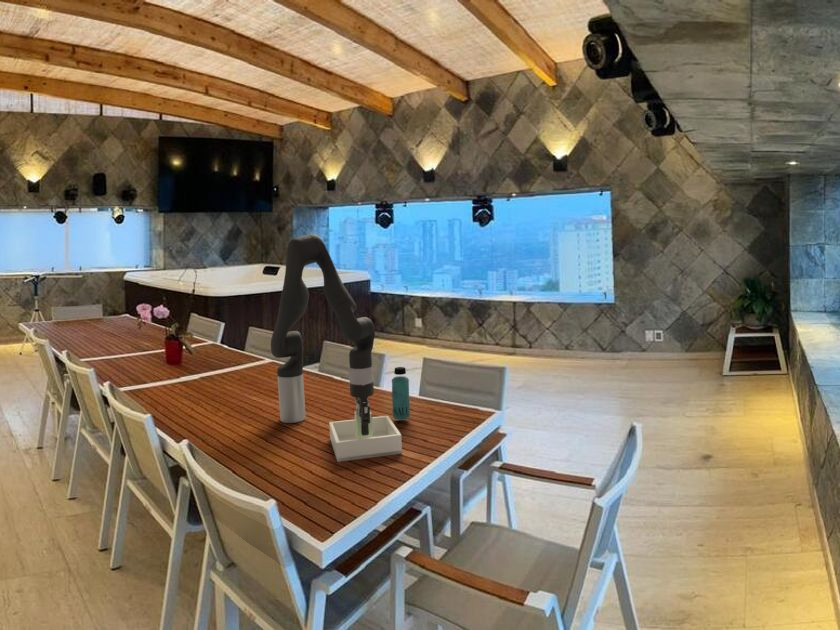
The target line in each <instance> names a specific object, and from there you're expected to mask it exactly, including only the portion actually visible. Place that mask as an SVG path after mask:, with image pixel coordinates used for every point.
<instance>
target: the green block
mask: <svg viewBox="0 0 840 630" xmlns="http://www.w3.org/2000/svg"><path fill="white" fill-rule="evenodd" d="M353 413H354V419H355V434H356V437H357V439H362V438H370V437H373V432H372V415H373V413H372V412H371V411H370V423H369V424H368V426H369V434H368V435H364V436H363V435H362V431H361V417H359V414H358V411H356V410H354V412H353ZM361 414H362V413H361ZM364 420H367V418H364Z"/></svg>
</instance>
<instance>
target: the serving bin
mask: <svg viewBox="0 0 840 630" xmlns="http://www.w3.org/2000/svg"><path fill="white" fill-rule="evenodd" d="M328 426H329V440H330V443H331V446H332V449H333V452H334V456H335V459H336V461H337V463H339V462H340V463H341V462H348V461H355V460H362V459H363V460H364V459H369V458H379V457H385V456H393V455H401V454H403V444H402V440H403V439H402V433H401V432H400V430H399V429H398V427H396V425H395V424H394V422H393V421H392V419H391V418H390V416H389V415H383V416H382V415H381V416H373V417H372V432H373V437H370V438H362V439H357V437H356V434H355V418H354V419H347V420H336V421H329V424H328Z"/></svg>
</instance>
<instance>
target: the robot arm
mask: <svg viewBox="0 0 840 630" xmlns="http://www.w3.org/2000/svg"><path fill="white" fill-rule="evenodd" d="M315 263H316V265H317V266H318V267H319V268H320V270H321V273H322V276H323V289H324V290H323V291H324V296H325V299H326V300H327V301H326V302H327V303H328V304H329V305H330V307H331V309H332V310H333V312H334V313H335V315H336V318H337V322H338V324H339V327H340V330H341V332H342V334H343V336H344V337H345V339H346V340H347V341H349V342H351V343H355V345H354V347H352V348H351V350H350V351H349V353H348V356H349V357H348V360H349V361H348V363H349V373H348V374H349V375H348V376H349V379H348V380H349V393H350V396H351V397H353V398H355V408H356V409H355V411H358V414H359V417H361V431H362V435H363V436H364V435H368V434H369V426H368V424H369V423H370V412H371V404H370V401H369V399H368V398H369V397H372V396H373V395H374V393H375V390H374V389H375V388H374V386H375V385H374V384H375V383H374V371H373V363H372V362H373V357H372V352H373V348H374V341H375V335H376V330H375V329H376V328H375V325H374V323H373V321H372V319H370V318H369V317H367V316H362V317H358V318H356V316H355V311H356V310H357V304H356V302H355V301H354V298H353V297H352V296H351V294H350V293H349V291H348V289H347V288H346V286H345V285H344V282H343V281H342V280H341V278H340V275H339V273H338V271H337V269H336V267H335V263H334V262H333V260H332V257H331V255H330V252H329V250H328V248H327V247H326V245H325V242H324V241H323V239H322V238H321V237H320V236H319V235H318V234H315V233H310V234H305V235H301V236H298V237H297V236H296V237H294V238H291V240H289V242H288V244H287V248H286V259H285V272H284V280H283V285H282V286H283V287H282V290H281V293H280V294H281V295H280V299H279V306H278V307H279V308H278V312H277V318H276V321H275V326H274V329H273V332H272V336H271V339H270V351H271V354H272V356H273V357H275V358H277V359H279V358H280V359H281V358H282V359H284V358H288V357H290V358H289V359H288V360H287V361H286V362H285V363H283V364H281V365H279V366H278V367H277V370H276V374H277V388H278V402H279V403H278V404H279V416H280V417H279V418H280V422H282V423H285V424H294V423H300V422H302V421H304V420H306V404H305V403H306V401H305V385H304V384H305V383H304V343H303V338H302V334H301V333H300V332H299V331H298V330H293V331H292V330H291V328H292V327H293V326H294V325H295V324H296V323H297V322H298V321H299V320H300V319H301V318H302V317H303V316H304V315H305V313H306V311H307V307H308V304H309V303H308V302H309V299H310V292H309V289H308V287H307V285H306V284H305V282H304V280H303V278H302V277H303V271H304V268H305V267H306V266H308V265H311V264H315ZM290 330H291V331H290ZM361 413H362V414H361ZM364 418H367V420H364Z"/></svg>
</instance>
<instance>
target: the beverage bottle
mask: <svg viewBox="0 0 840 630" xmlns="http://www.w3.org/2000/svg"><path fill="white" fill-rule="evenodd" d="M393 372H394V375H395V376H394V377H393V378H392V379H391V399H392V418H393V419H394V420H397V421H402V420H408V419H409V418H410V416H411V404H410V379H409V378H408V377H407V376H405V374H406V373H407V372H406V367H404V366H398V367H395V368H394V371H393Z"/></svg>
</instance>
